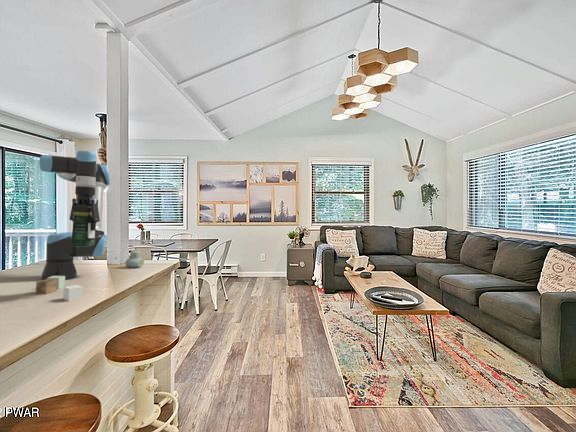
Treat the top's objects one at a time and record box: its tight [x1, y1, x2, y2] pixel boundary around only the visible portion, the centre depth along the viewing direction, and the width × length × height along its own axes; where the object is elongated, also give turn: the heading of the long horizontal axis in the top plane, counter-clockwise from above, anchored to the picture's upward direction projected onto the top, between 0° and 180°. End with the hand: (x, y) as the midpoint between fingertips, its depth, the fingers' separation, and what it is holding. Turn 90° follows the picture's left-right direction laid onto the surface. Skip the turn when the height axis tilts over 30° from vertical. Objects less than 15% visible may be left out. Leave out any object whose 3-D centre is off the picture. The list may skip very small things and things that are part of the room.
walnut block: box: [35, 279, 57, 295], centre depth 143 cm, size 5×5×5 cm
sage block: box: [47, 276, 66, 290], centre depth 151 cm, size 5×5×5 cm
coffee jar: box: [71, 204, 95, 247], centre depth 147 cm, size 10×8×19 cm
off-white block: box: [62, 284, 84, 302], centre depth 134 cm, size 5×5×5 cm
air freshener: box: [124, 250, 145, 269], centre depth 209 cm, size 11×8×10 cm
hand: (83, 237), depth 147 cm, fingers closed on coffee jar, 9 cm apart
